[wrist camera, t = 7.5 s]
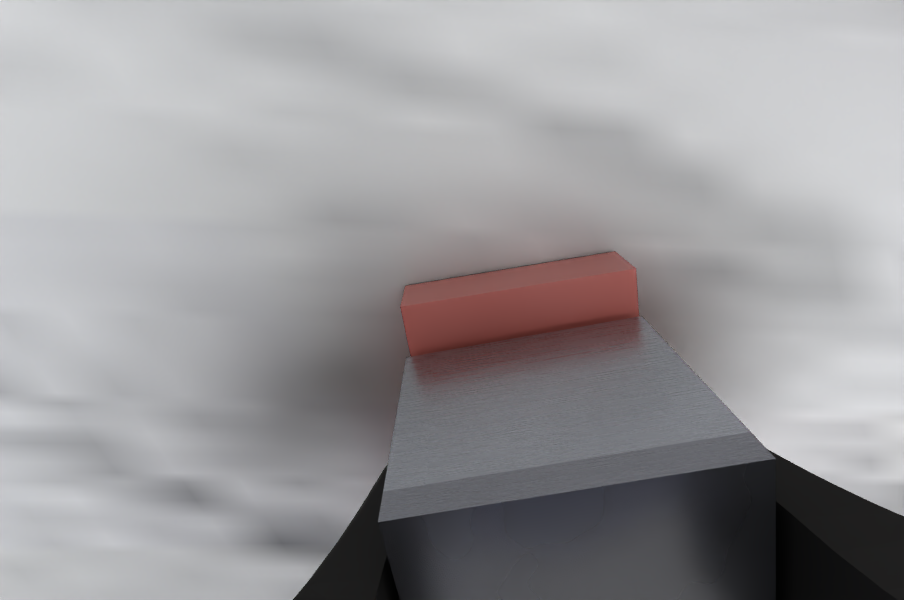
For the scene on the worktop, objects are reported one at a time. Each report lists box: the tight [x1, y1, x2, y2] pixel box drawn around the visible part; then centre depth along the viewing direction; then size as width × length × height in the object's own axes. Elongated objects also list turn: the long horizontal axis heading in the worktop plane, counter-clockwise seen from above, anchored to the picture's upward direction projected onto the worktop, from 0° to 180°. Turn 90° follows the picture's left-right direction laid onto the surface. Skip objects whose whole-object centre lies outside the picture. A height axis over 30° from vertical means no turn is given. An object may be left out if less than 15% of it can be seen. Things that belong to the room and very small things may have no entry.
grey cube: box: [378, 316, 776, 600], centre depth 10 cm, size 5×5×5 cm
